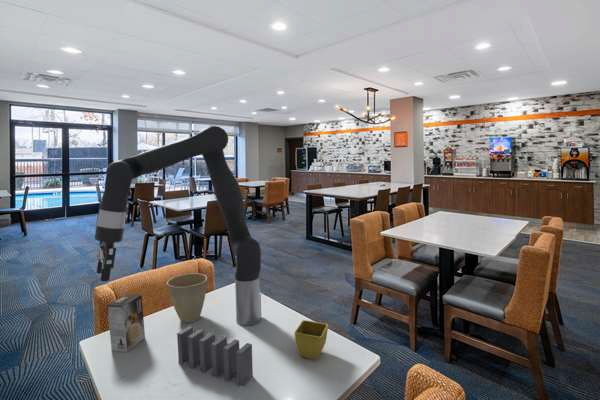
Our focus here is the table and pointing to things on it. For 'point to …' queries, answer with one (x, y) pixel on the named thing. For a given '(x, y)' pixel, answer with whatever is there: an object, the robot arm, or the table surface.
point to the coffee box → (126, 322)
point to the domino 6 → (244, 364)
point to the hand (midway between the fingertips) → (102, 277)
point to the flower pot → (311, 338)
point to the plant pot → (188, 295)
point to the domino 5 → (230, 360)
